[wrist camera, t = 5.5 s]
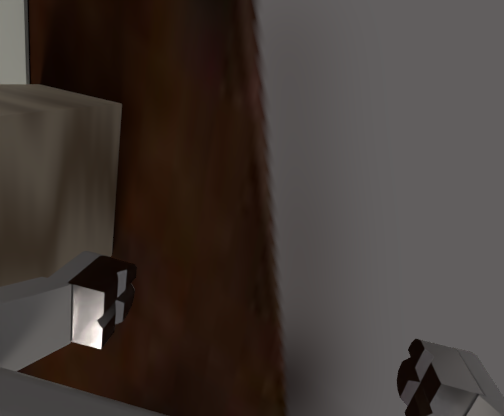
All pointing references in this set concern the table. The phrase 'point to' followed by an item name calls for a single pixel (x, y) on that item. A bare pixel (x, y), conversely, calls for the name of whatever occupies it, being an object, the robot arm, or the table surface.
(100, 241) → the birch block
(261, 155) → the table surface
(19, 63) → the desk mat
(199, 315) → the table surface
